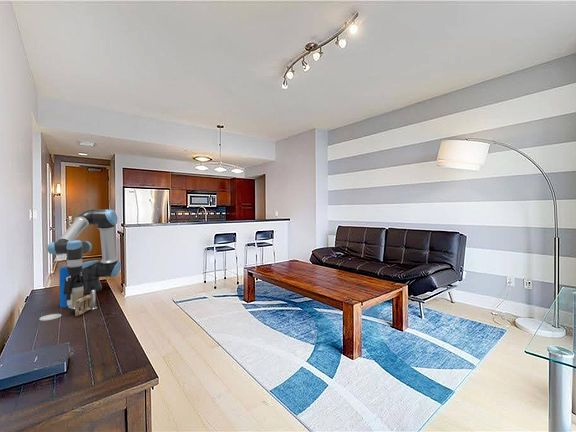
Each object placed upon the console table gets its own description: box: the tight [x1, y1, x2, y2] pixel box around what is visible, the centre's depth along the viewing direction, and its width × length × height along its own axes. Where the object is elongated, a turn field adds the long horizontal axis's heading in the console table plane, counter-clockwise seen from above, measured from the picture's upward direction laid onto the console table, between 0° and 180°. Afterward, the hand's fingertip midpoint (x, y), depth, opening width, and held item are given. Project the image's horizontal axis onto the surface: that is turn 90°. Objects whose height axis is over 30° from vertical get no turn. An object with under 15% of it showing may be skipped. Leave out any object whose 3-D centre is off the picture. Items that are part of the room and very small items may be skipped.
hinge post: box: [90, 290, 98, 311], centre depth 183 cm, size 4×4×12 cm
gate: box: [74, 293, 93, 317], centre depth 175 cm, size 14×1×9 cm, turn 3°
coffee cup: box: [67, 281, 84, 309], centre depth 176 cm, size 9×9×15 cm
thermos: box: [58, 265, 69, 308], centre depth 190 cm, size 11×11×25 cm
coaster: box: [39, 313, 62, 322], centre depth 168 cm, size 10×10×1 cm
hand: (75, 302), depth 176 cm, fingers closed on coffee cup, 8 cm apart
